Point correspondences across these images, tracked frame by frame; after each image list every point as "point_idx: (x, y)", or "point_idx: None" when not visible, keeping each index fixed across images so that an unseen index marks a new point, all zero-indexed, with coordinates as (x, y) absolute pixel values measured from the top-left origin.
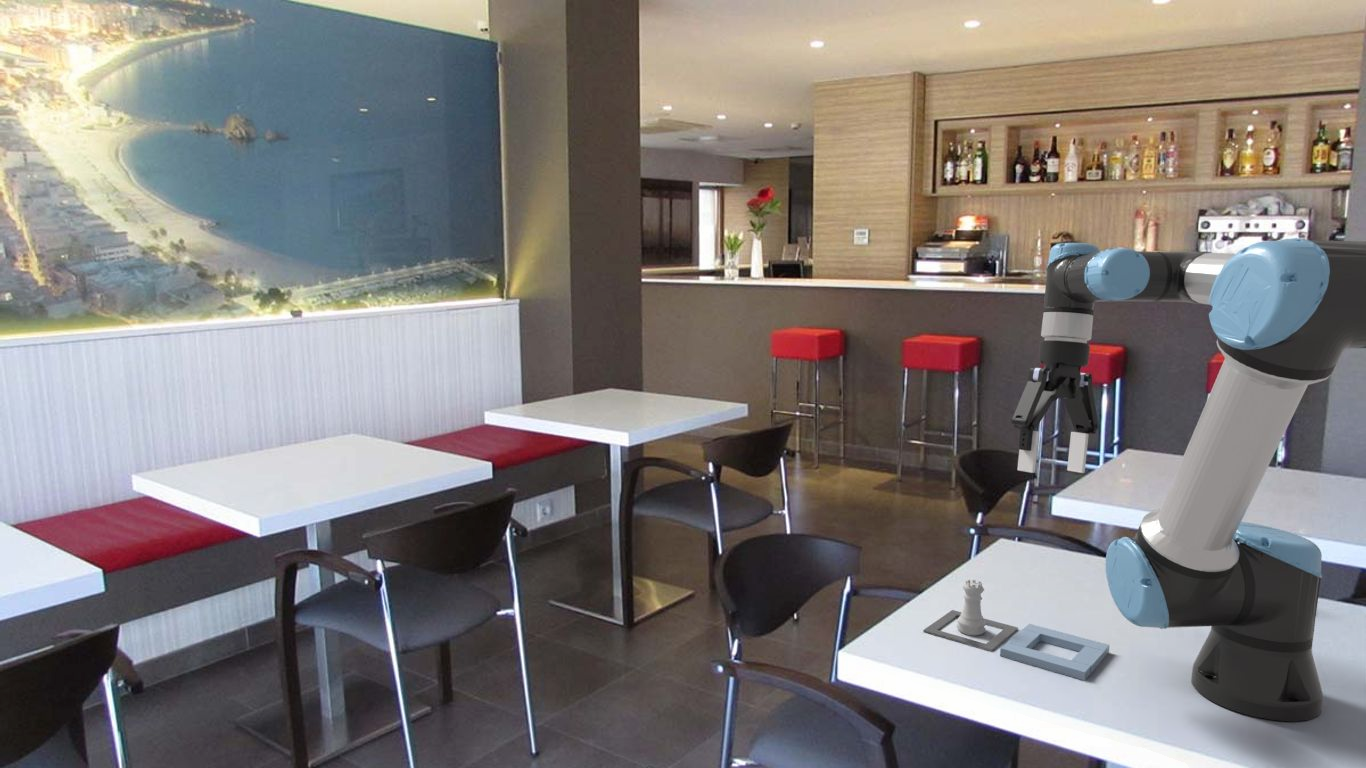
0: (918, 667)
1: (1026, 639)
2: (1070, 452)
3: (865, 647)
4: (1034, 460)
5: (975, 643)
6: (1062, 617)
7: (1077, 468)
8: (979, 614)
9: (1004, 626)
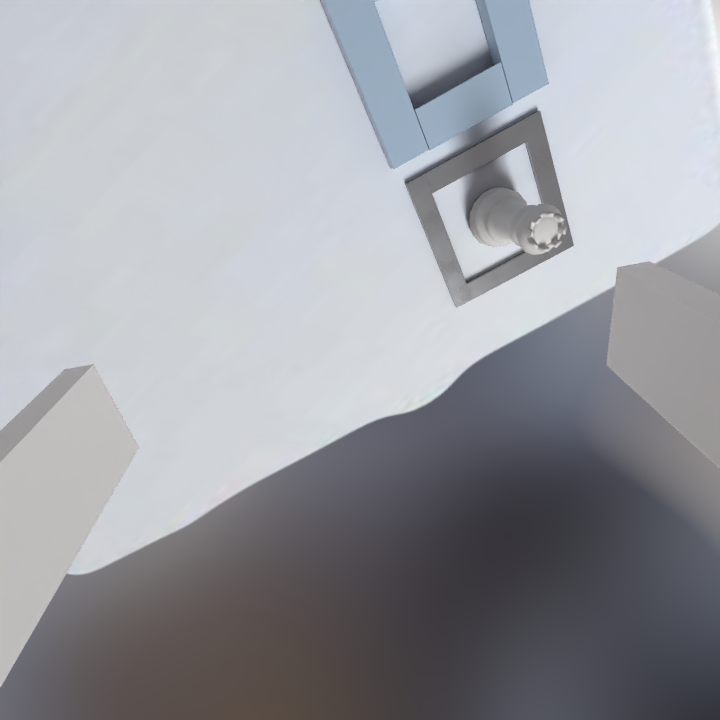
0: (697, 112)
1: (466, 96)
2: (77, 532)
3: (697, 225)
4: (696, 292)
5: (542, 151)
6: (262, 201)
7: (97, 408)
8: (510, 202)
9: (427, 200)
